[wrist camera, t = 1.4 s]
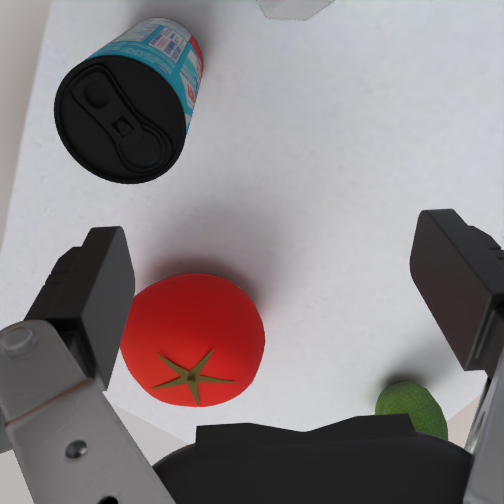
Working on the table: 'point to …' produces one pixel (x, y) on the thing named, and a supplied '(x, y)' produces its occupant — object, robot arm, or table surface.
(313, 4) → the flask
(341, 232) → the table surface
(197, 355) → the tomato
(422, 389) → the avocado
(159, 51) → the beverage can
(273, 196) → the table surface
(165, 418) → the table surface
